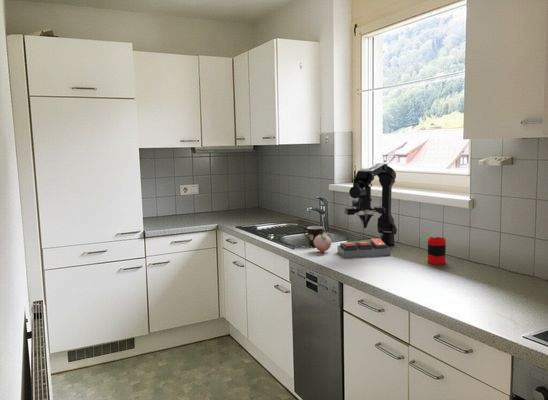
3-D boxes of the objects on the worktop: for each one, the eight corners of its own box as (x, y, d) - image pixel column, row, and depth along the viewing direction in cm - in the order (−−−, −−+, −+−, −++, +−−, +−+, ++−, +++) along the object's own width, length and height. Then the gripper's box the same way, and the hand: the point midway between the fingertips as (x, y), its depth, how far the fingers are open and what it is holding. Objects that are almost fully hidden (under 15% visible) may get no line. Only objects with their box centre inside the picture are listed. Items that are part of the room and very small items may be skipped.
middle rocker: (365, 244, 234) (365, 241, 234) (370, 244, 226) (370, 242, 226) (356, 244, 234) (356, 242, 234) (361, 245, 226) (361, 242, 226)
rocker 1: (350, 245, 233) (350, 242, 233) (355, 245, 225) (355, 243, 226) (342, 245, 233) (341, 242, 233) (346, 246, 225) (346, 243, 225)
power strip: (381, 249, 238) (381, 240, 237) (390, 255, 226) (390, 245, 226) (337, 252, 235) (337, 242, 235) (344, 258, 223) (344, 248, 223)
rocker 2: (379, 240, 235) (379, 238, 235) (385, 246, 228) (385, 244, 227) (371, 241, 235) (371, 238, 234) (376, 247, 227) (376, 244, 227)
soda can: (430, 265, 208) (430, 238, 206) (425, 260, 215) (425, 235, 214) (447, 264, 208) (448, 238, 206) (442, 260, 215) (442, 234, 213)
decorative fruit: (334, 253, 234) (334, 233, 232) (320, 255, 230) (320, 235, 229) (325, 249, 242) (324, 230, 241) (311, 251, 239) (310, 232, 237)
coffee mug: (326, 246, 248) (326, 228, 247) (311, 248, 245) (311, 229, 244) (316, 242, 259) (316, 224, 257) (302, 244, 256) (302, 226, 254)
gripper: (377, 193, 234) (377, 224, 236) (341, 195, 232) (341, 226, 233) (385, 196, 223) (385, 228, 225) (347, 197, 221) (347, 230, 222)
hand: (364, 228), depth 227 cm, fingers closed
